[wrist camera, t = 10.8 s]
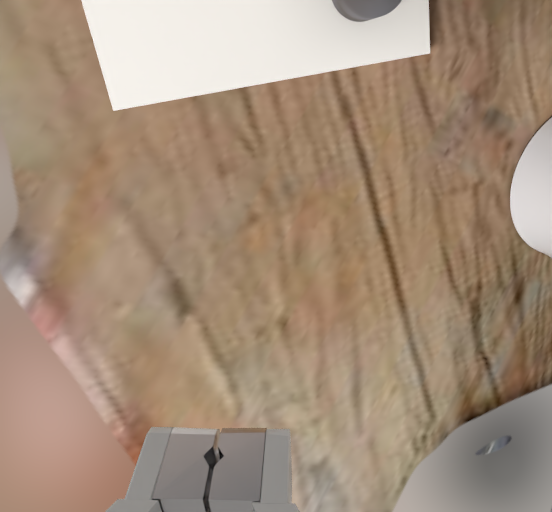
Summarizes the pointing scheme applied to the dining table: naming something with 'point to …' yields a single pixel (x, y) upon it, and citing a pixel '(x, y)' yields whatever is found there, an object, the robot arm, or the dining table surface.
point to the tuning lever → (364, 8)
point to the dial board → (238, 43)
